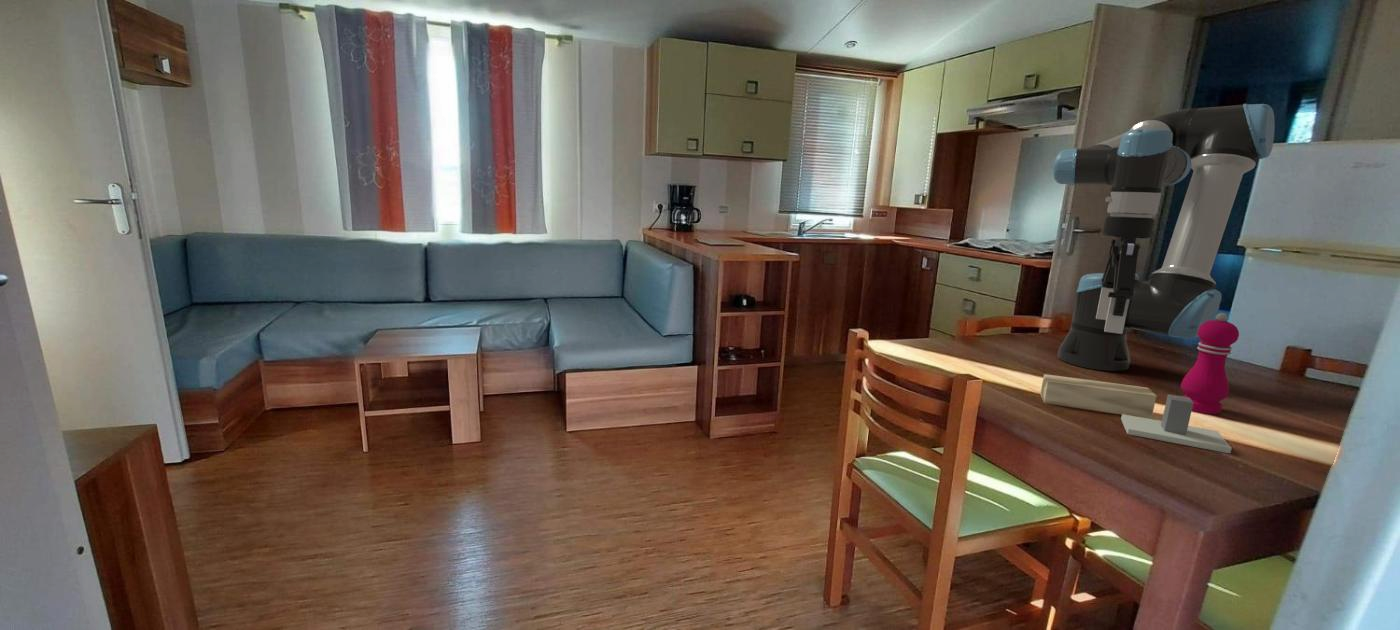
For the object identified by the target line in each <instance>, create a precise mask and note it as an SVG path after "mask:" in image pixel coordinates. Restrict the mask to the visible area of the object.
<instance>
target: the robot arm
mask: <svg viewBox="0 0 1400 630" xmlns="http://www.w3.org/2000/svg"><path fill="white" fill-rule="evenodd" d="M1275 124H1276V123H1275V114H1274V110H1273V108H1272V107H1271V105H1270V104H1265V103H1256V104H1255V103H1253V104H1248V103H1243V104H1238V105H1224V106H1223V105H1222V106H1211V107H1199V108H1198V107H1197V108H1196V107H1195V108H1183V109H1179V110H1174V111H1171V112H1168V113H1164V114H1160V115H1156V116H1154V117H1151V118H1149V119H1146V120H1144V121H1143V120H1142V121H1141V122H1138V123H1137V124H1135V125H1133V126H1132V127H1131V128H1130V129H1128V130H1127V131H1126V132H1124V133H1122V134H1119V135H1116V136H1114V137H1112V138H1110V139H1107V140H1104V141H1102V142H1098V143H1096V144H1094V145H1092V146H1089V147H1085V148H1078V147H1074V148H1069V149H1063V150H1062V151H1060V152H1059V153H1058V154H1057V155H1056V158H1054V159H1055V160H1054V163H1053V166H1052V168H1053V169H1052V171H1053V172H1052V175H1053V178H1054V180H1055V182H1056V183H1057V184H1058V185H1059V184H1060V185H1071V186H1075V185H1077V186H1079V185H1080V186H1082V185H1084V186H1086V185H1087V186H1089V185H1091V186H1093V185H1094V186H1098V185H1099V186H1107V185H1108V186H1111V188H1110V189H1111V190H1110V196H1106V198H1105V200H1104V201H1105V203H1108V205H1107V211H1106V212H1107V213H1108V214H1110V216H1107V217H1105V219H1104V224H1103V228H1102V234H1103V235H1104V236H1105V237H1106V236H1107V237H1114V238H1115V237H1116V238H1115V239H1112V240H1111V241H1110V244H1111V245H1110V246H1109V249H1108V251H1109V252H1108V253H1109V254H1108V257H1107V261H1106V265H1105V266H1104V267H1105V268H1104V271H1103V272H1101V273H1097V272H1096V273H1088V274H1084V275H1083V276H1081V278H1080V280H1079V282H1078V287H1077V290H1076V292H1075V293H1076V295H1075V301H1074V307H1073V313H1072V319H1071V326H1070V329H1069V331H1068V333H1067V335H1066V336H1065V338H1064V339H1063V341H1062V342H1061V344H1060V346H1059V348H1058V351H1057V358H1058V359H1059V360H1061V361H1062V362H1065V363H1067V364H1070V365H1074V366H1077V367H1082V368H1084V369H1091V370H1097V371H1108V372H1122V371H1126V370H1128V369H1129V368H1130V364H1131V358H1130V357H1131V356H1130V352H1129V347H1128V343H1127V342H1128V341H1127V333H1128V329H1133V330H1136V331H1137V330H1138V331H1143V332H1149V333H1154V334H1159V335H1165V336H1169V337H1171V338H1175V337H1176V338H1181V339H1182V338H1183V339H1197V338H1199V337H1198V334H1197V333H1198V329H1199V327H1200V326H1201V325H1202V324H1203V323H1204V322H1207V321H1210V320H1215V319H1216V315H1217V314H1218V312H1219V309H1220V304H1221V302H1222V292H1220V291H1219V290H1217V289H1216V285H1217V283H1216V281H1215V280H1214V279H1213V278H1212V276H1211V273H1212V272H1211V271H1212V269H1213V266H1214V263H1215V259H1216V257H1217V254H1218V251H1219V248H1220V245H1221V241H1222V239H1223V235H1224V232H1225V230H1226V226H1227V224H1228V221H1229V218H1230V214H1231V212H1232V208H1233V205H1234V202H1235V200H1236V197H1237V193H1238V191H1239V188H1240V184H1241V182H1242V179H1243V175H1244V174H1246V173H1248V172H1249V171H1252V170H1253V169H1254V168H1255V166H1256V164H1257V161H1258V159H1260V160H1263V159H1265V158H1269V156H1270V155H1271V152H1272V150H1273V147H1274V146H1273V145H1274V141H1275ZM1191 170H1192V171H1193V172H1192V175H1191V178H1190V181H1189V184H1188V188H1187V190H1186V194H1185V196H1184V199H1183V203H1182V206H1181V209H1180V211H1179V214H1178V218H1177V221H1176V224H1175V227H1174V230H1173V233H1172V237H1171V238H1170V242H1169V245H1168V247H1167V251H1166V254H1165V257H1164V261H1163V263H1162V266H1161V268H1159V269H1157V270H1154V271H1153V272H1152V273H1151V274H1150V277H1149V280H1148V281H1144V280H1140V277H1139V275H1138V273H1136V272H1137V265H1138V264H1137V263H1138V256H1139V250H1140V248H1141V246H1140V244H1139V243H1136V240H1137V239H1150V238H1152V236H1153V234H1154V233H1153V231H1154V227H1155V224H1156V220H1155V218H1153V216H1156V215H1157V214H1158V211H1159V207H1160V206H1159V205H1160V201H1161V198H1162V191H1163V190H1162V189H1163V188H1165V187H1168V186H1173V185H1176V184H1178V183H1180V182H1181V181H1183V180H1184V179H1185V178H1186V177H1187V176H1188V174H1189V173H1190V171H1191Z"/></svg>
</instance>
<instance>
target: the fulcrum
mask: <svg viewBox="0 0 1400 630" xmlns="http://www.w3.org/2000/svg"><path fill="white" fill-rule="evenodd" d="M1193 404H1194V403H1193V402H1192V401H1191V399H1190V398H1188V397H1182V395H1175V394H1167V397H1166V401H1165V405H1164V410H1163V414H1162V419H1161V420H1158V419H1152V418H1151V419H1149V418H1142V417H1136V416H1130V415H1124V414H1121V417H1120V420H1121V422H1122V425H1123V427H1124V429H1125V431H1126V434H1127V435H1131V436H1137V437H1142V438H1147V439H1152V440H1157V441H1162V442H1167V443H1172V444H1178V445H1184V446H1188V447H1192V448H1198V449H1199V448H1200V449H1203V450H1208V451H1215V452H1219V453H1220V452H1221V453H1225V454H1231V452H1232V449H1233V448H1232V447H1231V446H1230V444H1229V443H1228V442H1227V440H1226V439H1225V438H1224V437H1223V436H1222V434H1221V433H1220V432H1219V431H1218V430H1214V429H1209V428H1203V427H1197V426H1190V425H1189V423H1190V419H1191V415H1192V412H1193V411H1192V408H1193Z"/></svg>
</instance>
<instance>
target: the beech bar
mask: <svg viewBox="0 0 1400 630" xmlns="http://www.w3.org/2000/svg"><path fill="white" fill-rule="evenodd" d="M1039 395H1041V396H1040V397H1042V398H1041V399H1042V401H1043V403H1044V404H1048V405H1055V406H1061V407H1068V408H1075V409H1081V410H1089V411H1095V412H1103V413H1108V414H1109V413H1111V414H1116V415H1122V414H1124V415H1130V416H1136V417H1141V418H1147V419H1152V418H1153V413H1154V409H1155V404H1156V401H1157V395H1156V394H1155V393H1154V392H1153V391H1152V390H1151V389H1150V388H1149V387H1144V386H1138V385H1132V384H1131V385H1130V384H1129V385H1128V384H1121V383H1115V382H1107V381H1100V380H1093V379H1086V378H1085V379H1084V378H1076V377H1068V376H1062V375H1061V376H1060V375H1053V374H1046V373H1044V374H1043V376H1042V384H1041V389H1040V394H1039Z"/></svg>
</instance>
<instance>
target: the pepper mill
mask: <svg viewBox="0 0 1400 630" xmlns="http://www.w3.org/2000/svg"><path fill="white" fill-rule="evenodd" d="M1228 319H1229V316H1228V314H1227V313H1224V312H1219V313H1217V314H1216V316H1215V319H1214V320H1210V321H1207V322H1204V323H1203V324H1202V325H1201V326H1200V327H1199V329H1198V333H1197V334H1198V337H1197V338H1199V340H1200V341H1199V342H1198V346H1197V347H1196V349H1197V350H1198V357H1197V359H1196V362H1195V363H1194V365H1193V366H1192V367H1191V368H1190V370H1189V371H1187V373H1186V374H1185V375H1184V377H1183V379H1182V380H1181V383H1180V388H1181V390H1182V391H1183V393H1184V395H1181V397H1188V398H1190V399H1191V401H1192V402H1193V403H1194V404H1193V408H1192V412H1196V413H1201V414H1207V415H1218V414H1221V411H1222V407H1223V404H1222V403H1221V402H1220V401H1223V400H1224V399H1226V398H1227V397H1228V396H1229V393H1230V385H1229V384H1230V383H1229V379H1228V377H1227V373H1226V361H1227V357H1228V355H1229V356H1230V355H1231V350H1233V347H1232V346H1231V345H1232V344H1235V343H1236V342H1237V341H1238V339H1239V337H1240V333H1239V329H1238V327H1237V326H1236V325H1234V324H1233V323H1231V322H1229V321H1227V320H1228Z"/></svg>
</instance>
